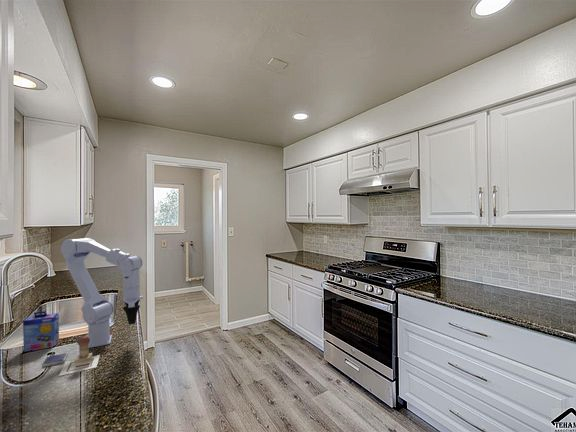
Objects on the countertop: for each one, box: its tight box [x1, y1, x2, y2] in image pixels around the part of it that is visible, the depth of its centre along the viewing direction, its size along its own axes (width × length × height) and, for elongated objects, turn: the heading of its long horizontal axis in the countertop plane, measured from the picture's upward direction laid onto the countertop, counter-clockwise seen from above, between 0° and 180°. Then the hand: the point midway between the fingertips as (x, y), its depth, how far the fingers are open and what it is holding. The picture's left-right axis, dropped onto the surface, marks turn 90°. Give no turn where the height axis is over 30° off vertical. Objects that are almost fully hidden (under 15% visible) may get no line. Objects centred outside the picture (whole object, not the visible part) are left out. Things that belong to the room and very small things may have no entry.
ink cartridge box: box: [22, 310, 60, 353], centre depth 111 cm, size 10×6×14 cm, turn 113°
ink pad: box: [41, 352, 69, 368], centre depth 99 cm, size 6×6×1 cm
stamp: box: [75, 335, 93, 367], centre depth 97 cm, size 4×4×9 cm
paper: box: [58, 354, 101, 377], centre depth 96 cm, size 10×10×1 cm
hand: (132, 320), depth 111 cm, fingers open, 7 cm apart
